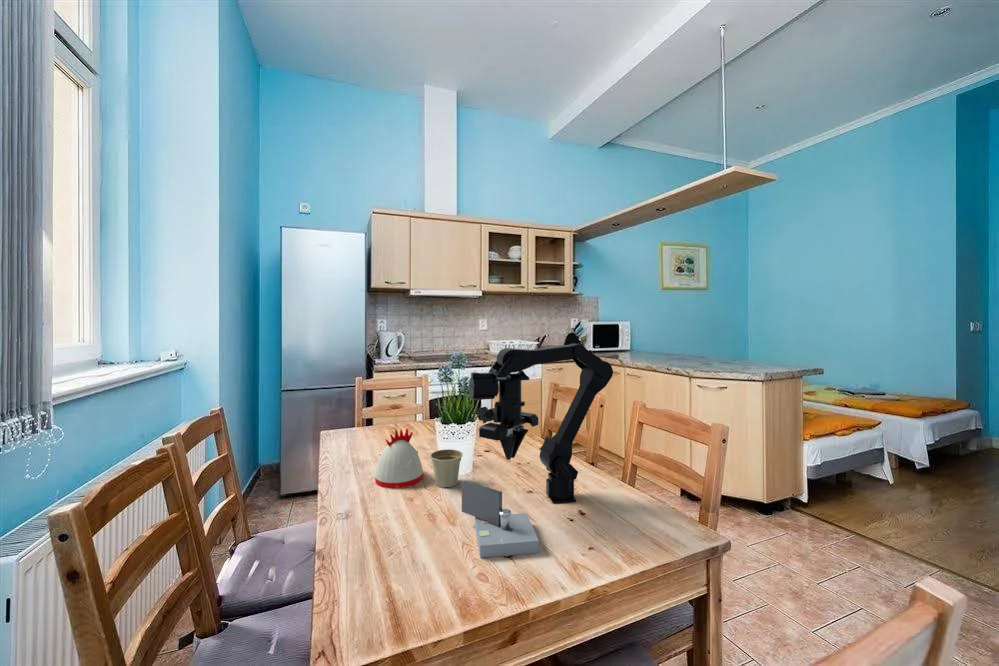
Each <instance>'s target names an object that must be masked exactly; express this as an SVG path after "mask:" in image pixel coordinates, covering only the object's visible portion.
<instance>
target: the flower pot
mask: <svg viewBox="0 0 999 666" xmlns="http://www.w3.org/2000/svg"><path fill="white" fill-rule="evenodd" d="M463 454H464V452H462V451H460V450H458V449H452V448H451V449H450V448H446V449H439V450H435V451H433V452H431V453H430V454H429V458H430V459H431V463H432V465H433V472H434V479H435V485H436V486H437V487H438V488H439V487H440V488H452V487H454V486H456V485H457V484H458V481H459V473H460V464H461V461H462V457H463Z"/></svg>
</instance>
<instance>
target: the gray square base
mask: <svg viewBox="0 0 999 666" xmlns="http://www.w3.org/2000/svg"><path fill="white" fill-rule="evenodd" d="M474 529H475V534H476V535H475V536H476V540H477V546H478V552H479V558H480V559H483V558H495V557H497V558H498V557H507V556H517V555H528V554H529V555H530V554H539V553H540V541H539V538H538V535H537V534H536V530H535V529H534V526H533V525H532V522H531V520H530V518H529V516H528V513H527V512H522V513H521V512H520V513H519V512H518V513H511V515H510V527H509V528H508V529H502V528H501V527H500V525H496V524H493V523H491V522H488V521H485V520H482V519H480V518H477V517H474Z"/></svg>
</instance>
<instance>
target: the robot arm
mask: <svg viewBox="0 0 999 666" xmlns="http://www.w3.org/2000/svg"><path fill="white" fill-rule="evenodd" d="M571 360H572V361H573V362H574V364H575V365H576V366H577V367H578V368H579V369H581V372H580V374H579V386H578V389H577V392H576V393H575V395H574V397H573V399H572V401H571V403H570V405H569V407H568V410H567V411H566V413H565V415H564V416H563V417H564V418H563V420H562V421H561V423H560V425H559V428H558V429H557V432H556V433H555V434H554V435H553V436H552V437H551V438H550V437H549V436H546V437H545V438H544V440H543V444H542V445H541V447H540V448H539V451H540V452H539V459H540V462H541V464H542V465H544V467H545V468H546V471H548V473H547V478H546V480H545V483H546V484H545V488H546V489H545V491H546V492H545V494H546V495H547V497H548V498H549V500H550V501H551V503H552V504H557V503H559V504H561V503H562V504H563V503H574V502H577V498H576V497H575V480H576V479H577V478H578V474H579V471H578V470H577V469H576V468H575V467H574V466H573V465H572V464H571V460H572V456H573V444H574V441H575V438H576V437H577V434H578V433H579V430H580V428H581V426H582V424H583V422H584V420H585V418H586V416H587V414H588V412H589V410H590V408H591V406H592V404H593V401H594V400H595V397H596V396H597V395H598V394H599V393H600V392H601V391H602V390H604V388H606V387H607V385H608V384H609V382H610V380H611V379H612V378H613V375H614V369H613V366H612V364H611V363H610V362H608V361H606V360H603V359H601V358H599V356H597V355H596V354H594V353H593V352H591V351H590V350H588V349H587V348H586V346H584V345H583V344H580V343H570V344H566V345H565V344H564V345H557V346H549V347H542V348H541V347H540V348H535V349H528V348H527V349H525V348H514V347H513V348H510V347H505V348H502V349H500V351H499V352H497V356H496V361H495V362H494V363H493V365H492V366H491V368H490V369H489V371H488V372H478V371H477V372H470V379H469V384H468V395H469V398H470V400H471V401H480V400H481V401H482V400H483V401H484V400H494V399H495V397H498V401H495V403H494V407H492V408H489V409H488V407H487V406H483V407H482V406H481V407H479V408H477V414H476V415H477V419H478V420H479V421H480V422H481V421H482V425H481V426H479V428H478V437H479V438H483V439H488V440H492V441H497V442H500V445H501V447H502V450H503V453H504V455H505V459H506V460H507V461H510V460H511V459H515V457H516V455H517V453H518V450H519V449H520V446H521V444H522V443H523V440H524V438H525V436H526V435H527V433H528V432H529V429H526V428H525V426H524V425H525V424H529V425H530V426H531V427H533V428H534V427H536V426H539V417H538V415H537V414H536V413H531V412H524V411H522V407H524V406H525V405H526V403H525V401H523V400H522V381H530V379H531V378H530V377H529V376H528V375H527V374H526V372H524V370H527V369H529V368H531V367H533V366H535V365H536V366H537V365H542V364H548V363H556V362H565V361H571ZM492 421H493V422H492ZM487 422H488V423H487Z"/></svg>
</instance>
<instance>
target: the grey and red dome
mask: <svg viewBox="0 0 999 666" xmlns="http://www.w3.org/2000/svg"><path fill="white" fill-rule="evenodd" d="M389 437H390V439H391V440H390V441H389V440H388V439H387V438H385V442H386V444H387V445H386V447H385V448H384V449H383V451H382V452H381V454H380V456H379V458H378V462H377V464H376V468H375V474H374V477H375V478H374V481H375V484H376V485H377V487H381V488H384V489H403V487H404V488H409V487H411V486H412V487H413V486H414V485H417V484H419V483H420V482H421V481H422V480H423V478H424V473H423V472H424V471H423V466H422V462H421V458H420V456H419V451H418V450H416V448H415V447H414V446H413V445H412V444H411V443H410V441H411V438H412V437H413V431H410V433H409V429H408V428H406V429H405V432H404V433H403V430H402V429H401V428H399V432H398V430H397V429H395V431H394V436H393V434H391V433H390V434H389Z"/></svg>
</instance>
